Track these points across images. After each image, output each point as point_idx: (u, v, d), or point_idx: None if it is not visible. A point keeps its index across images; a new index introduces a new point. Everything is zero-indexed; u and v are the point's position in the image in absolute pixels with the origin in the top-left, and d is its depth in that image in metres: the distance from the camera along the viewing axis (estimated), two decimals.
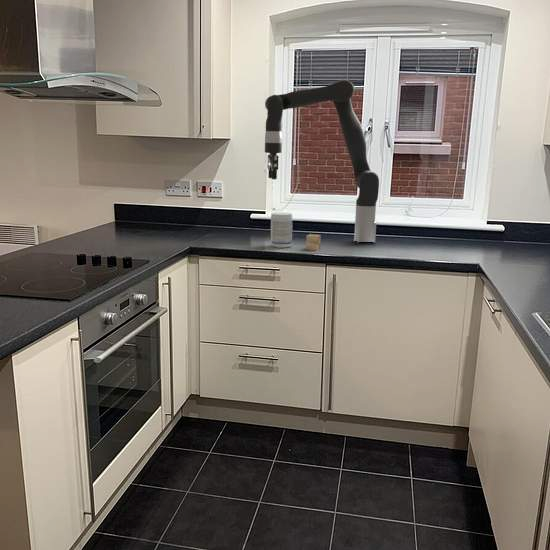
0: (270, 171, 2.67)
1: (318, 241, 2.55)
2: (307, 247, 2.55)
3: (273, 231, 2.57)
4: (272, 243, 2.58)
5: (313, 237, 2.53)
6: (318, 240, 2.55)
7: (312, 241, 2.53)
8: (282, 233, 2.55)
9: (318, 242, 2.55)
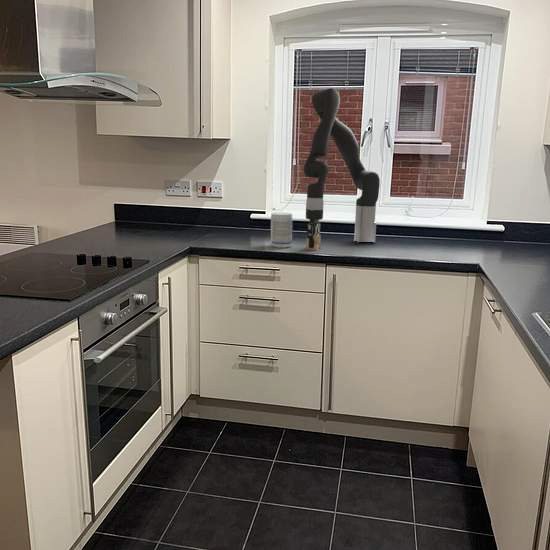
0: None
1: (318, 241, 2.55)
2: (307, 247, 2.55)
3: (273, 231, 2.57)
4: (272, 243, 2.58)
5: None
6: (318, 240, 2.55)
7: None
8: (282, 233, 2.55)
9: (318, 242, 2.55)
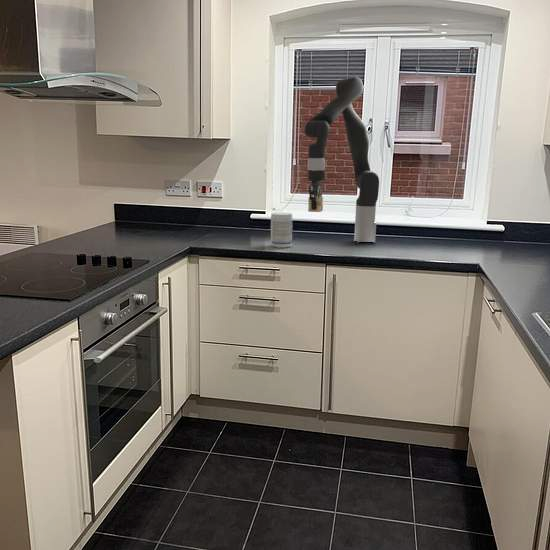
0: None
1: (320, 203, 2.50)
2: (309, 209, 2.51)
3: (273, 231, 2.57)
4: (272, 243, 2.58)
5: None
6: (321, 202, 2.51)
7: None
8: (282, 233, 2.55)
9: (320, 204, 2.51)
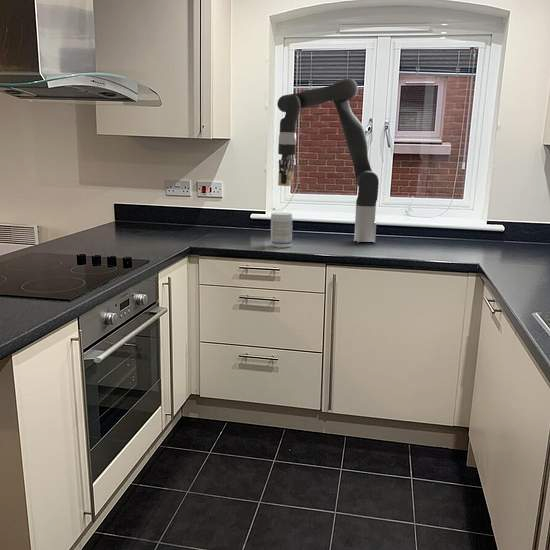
0: None
1: (290, 177, 2.52)
2: (279, 183, 2.53)
3: (273, 231, 2.57)
4: (272, 243, 2.58)
5: None
6: (291, 176, 2.53)
7: None
8: (282, 233, 2.55)
9: (290, 178, 2.53)
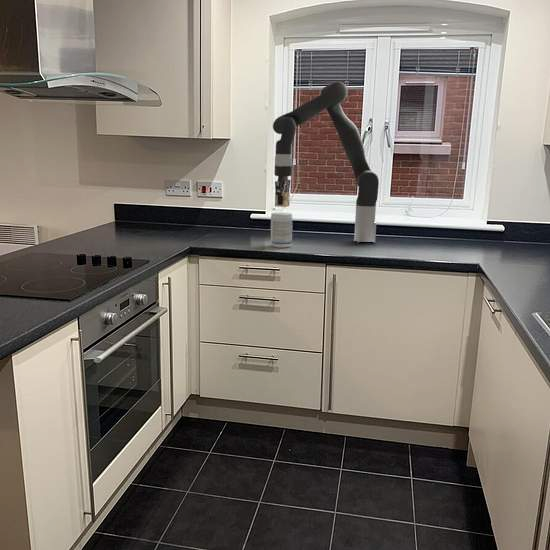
0: None
1: (287, 198, 2.55)
2: (276, 204, 2.55)
3: (273, 231, 2.57)
4: (272, 243, 2.58)
5: None
6: (287, 197, 2.55)
7: None
8: (282, 233, 2.55)
9: (287, 199, 2.55)
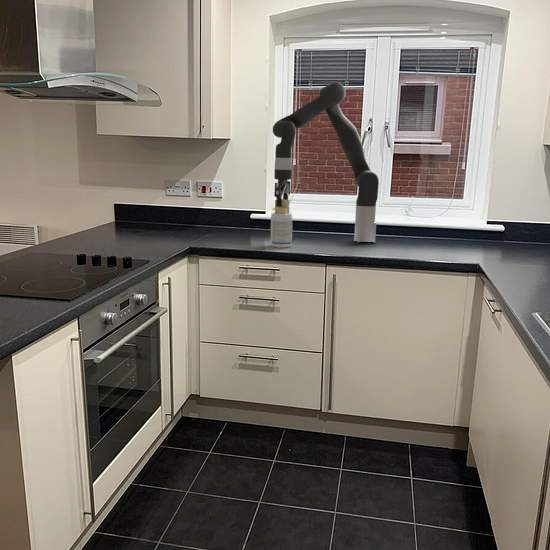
0: None
1: (287, 205, 2.56)
2: (276, 211, 2.56)
3: (273, 231, 2.57)
4: (272, 243, 2.58)
5: None
6: (287, 204, 2.56)
7: None
8: (282, 233, 2.55)
9: (287, 206, 2.56)
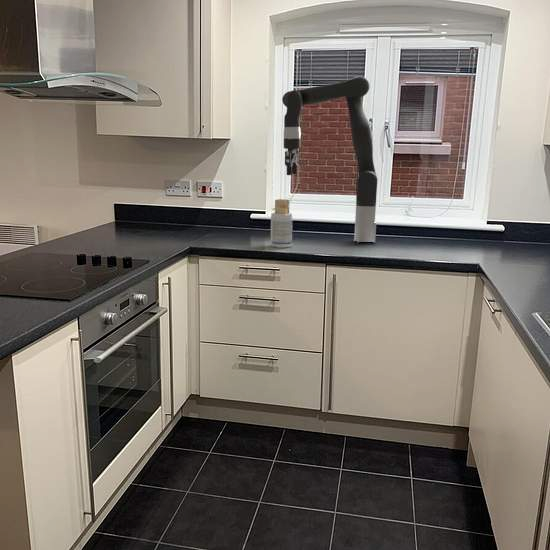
0: None
1: (287, 205, 2.56)
2: (276, 211, 2.56)
3: (273, 231, 2.57)
4: (272, 243, 2.58)
5: (281, 201, 2.54)
6: (287, 204, 2.56)
7: (281, 205, 2.55)
8: (282, 233, 2.55)
9: (287, 206, 2.56)
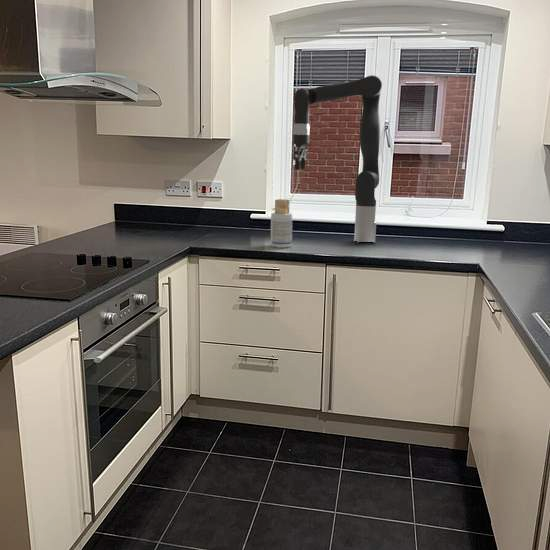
0: None
1: (287, 205, 2.56)
2: (276, 211, 2.56)
3: (273, 231, 2.57)
4: (272, 243, 2.58)
5: (281, 201, 2.54)
6: (287, 204, 2.56)
7: (281, 205, 2.55)
8: (282, 233, 2.55)
9: (287, 206, 2.56)
